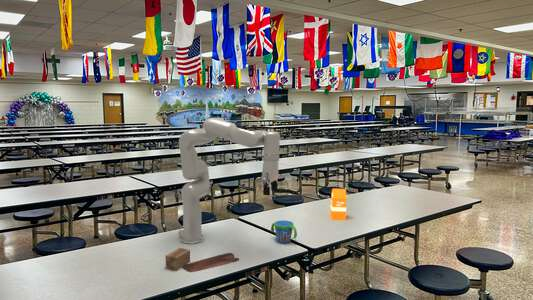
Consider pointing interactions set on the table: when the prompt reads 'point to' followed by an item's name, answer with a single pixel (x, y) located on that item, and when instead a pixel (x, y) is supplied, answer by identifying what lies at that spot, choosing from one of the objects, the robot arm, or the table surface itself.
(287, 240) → the snack cup
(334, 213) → the orange juice
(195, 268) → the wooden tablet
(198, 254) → the table surface
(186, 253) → the walnut block
